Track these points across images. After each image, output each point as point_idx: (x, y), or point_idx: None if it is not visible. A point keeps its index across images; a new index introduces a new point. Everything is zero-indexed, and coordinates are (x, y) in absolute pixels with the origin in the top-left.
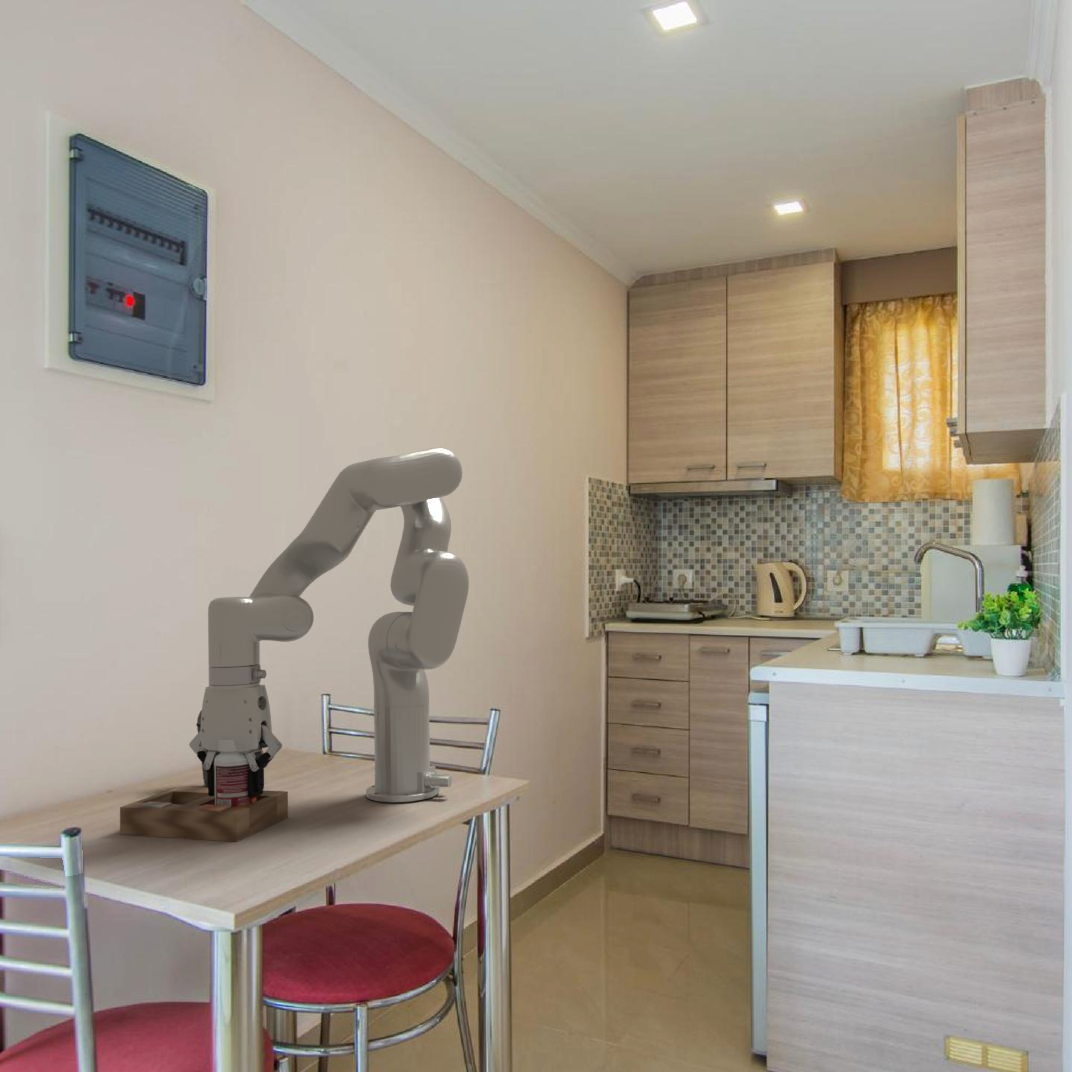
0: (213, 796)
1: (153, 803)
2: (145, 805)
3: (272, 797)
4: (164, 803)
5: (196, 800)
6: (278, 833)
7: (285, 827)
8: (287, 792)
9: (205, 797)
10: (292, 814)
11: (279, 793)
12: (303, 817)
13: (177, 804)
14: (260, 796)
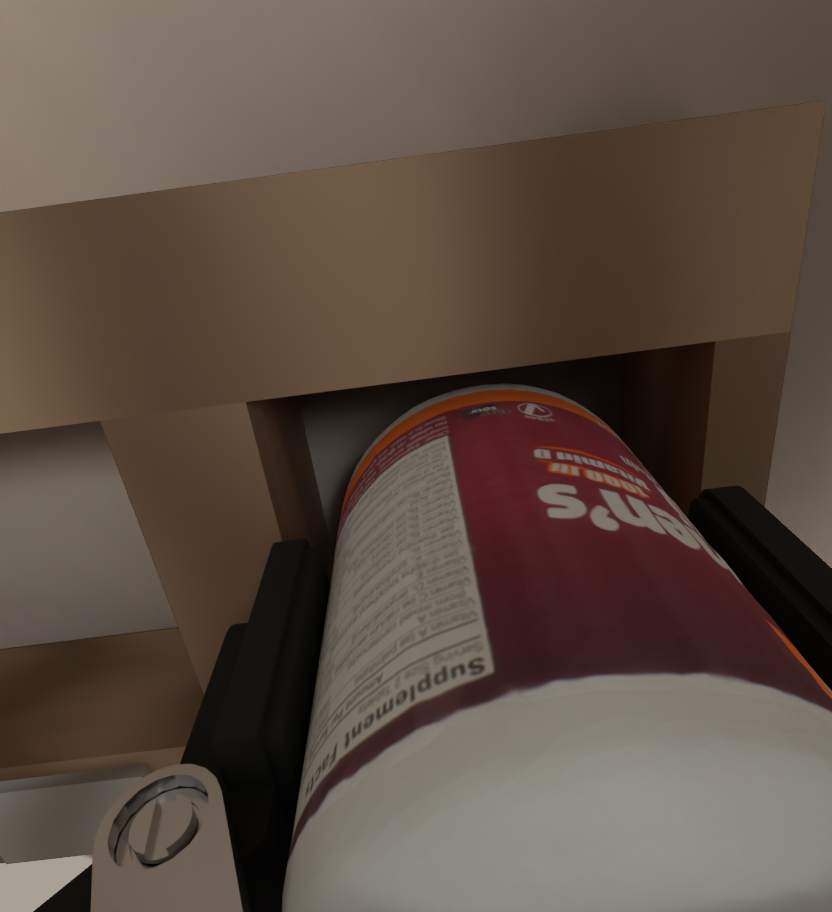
0: (208, 516)
1: (40, 816)
2: (48, 854)
3: (770, 388)
4: (112, 799)
5: (197, 646)
6: (804, 486)
7: (793, 371)
8: (820, 111)
9: (175, 562)
10: (685, 15)
11: (766, 219)
12: (822, 81)
13: (173, 749)
14: (606, 353)
